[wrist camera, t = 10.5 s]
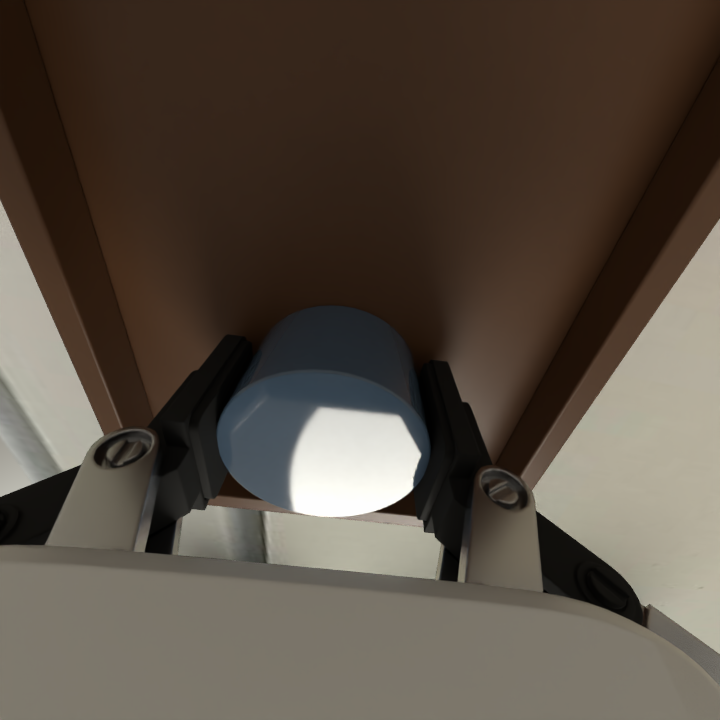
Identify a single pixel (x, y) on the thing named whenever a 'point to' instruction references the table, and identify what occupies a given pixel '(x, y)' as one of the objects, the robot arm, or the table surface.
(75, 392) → the table surface
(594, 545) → the table surface
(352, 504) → the blue short cylinder
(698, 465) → the table surface
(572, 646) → the robot arm
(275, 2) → the tray
